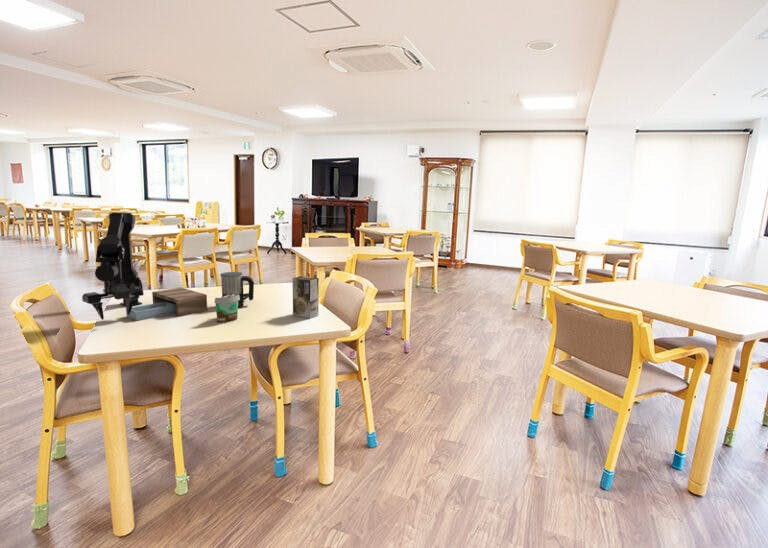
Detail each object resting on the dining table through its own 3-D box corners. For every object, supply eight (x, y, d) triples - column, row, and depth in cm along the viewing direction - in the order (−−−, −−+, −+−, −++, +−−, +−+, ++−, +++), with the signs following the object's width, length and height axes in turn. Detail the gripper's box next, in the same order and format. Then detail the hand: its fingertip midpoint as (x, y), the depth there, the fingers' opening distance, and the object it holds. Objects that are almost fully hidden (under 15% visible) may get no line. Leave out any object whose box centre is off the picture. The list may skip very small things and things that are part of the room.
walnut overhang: (153, 307, 180) (152, 291, 178) (181, 302, 190) (180, 287, 189) (178, 316, 168) (177, 299, 167) (207, 310, 179) (206, 294, 177)
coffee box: (319, 315, 178) (319, 277, 175) (310, 319, 173) (310, 280, 170) (301, 312, 182) (301, 275, 179) (292, 315, 176) (291, 277, 173)
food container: (229, 324, 161) (228, 299, 159) (215, 323, 162) (214, 298, 160) (246, 316, 173) (245, 292, 171) (232, 314, 174) (232, 291, 172)
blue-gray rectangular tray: (126, 317, 166) (125, 308, 165) (167, 309, 178) (166, 301, 178) (136, 321, 161) (135, 312, 160) (177, 312, 174) (176, 304, 173)
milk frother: (223, 309, 181) (222, 275, 178) (215, 301, 194) (214, 269, 191) (257, 306, 189) (256, 273, 186) (247, 298, 202) (246, 268, 199)
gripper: (93, 282, 144) (96, 326, 147) (149, 275, 159) (151, 316, 162) (79, 278, 150) (83, 320, 153) (135, 272, 165) (137, 310, 168)
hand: (115, 316), depth 159 cm, fingers open, 9 cm apart
